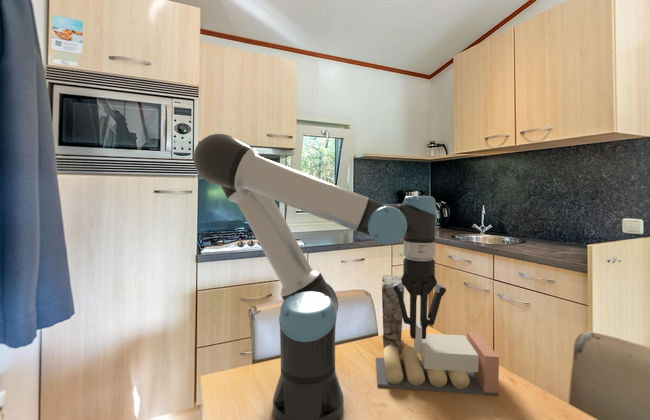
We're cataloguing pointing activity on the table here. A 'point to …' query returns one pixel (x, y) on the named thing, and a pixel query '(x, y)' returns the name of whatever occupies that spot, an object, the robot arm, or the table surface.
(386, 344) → the stone block
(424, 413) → the table surface
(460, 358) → the slab
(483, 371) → the stop block
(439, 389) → the roller bed
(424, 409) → the table surface
